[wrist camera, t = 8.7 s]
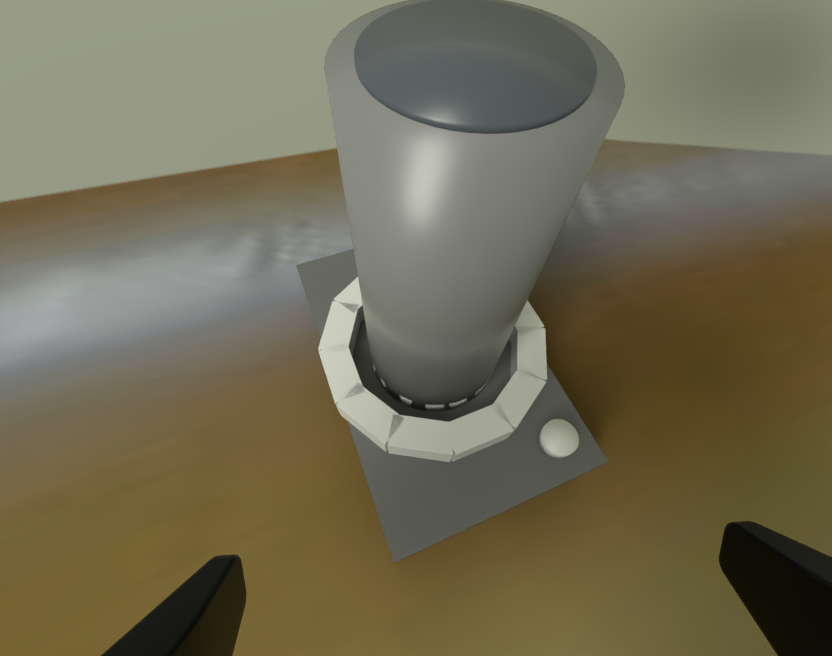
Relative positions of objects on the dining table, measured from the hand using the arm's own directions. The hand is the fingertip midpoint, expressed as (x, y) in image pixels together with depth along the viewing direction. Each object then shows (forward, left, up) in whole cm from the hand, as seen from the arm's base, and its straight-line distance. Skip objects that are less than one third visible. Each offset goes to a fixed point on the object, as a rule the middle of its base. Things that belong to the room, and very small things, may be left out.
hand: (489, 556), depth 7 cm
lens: (+5, -6, -7) cm, 11 cm away
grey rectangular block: (+5, -6, -10) cm, 13 cm away
